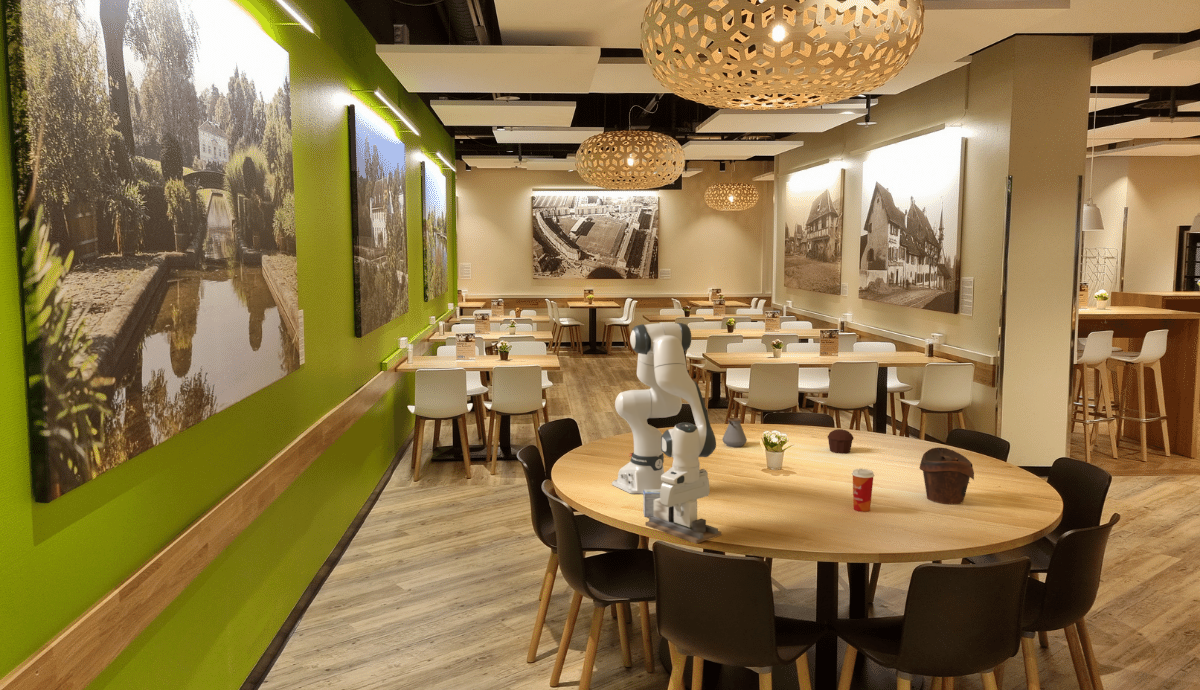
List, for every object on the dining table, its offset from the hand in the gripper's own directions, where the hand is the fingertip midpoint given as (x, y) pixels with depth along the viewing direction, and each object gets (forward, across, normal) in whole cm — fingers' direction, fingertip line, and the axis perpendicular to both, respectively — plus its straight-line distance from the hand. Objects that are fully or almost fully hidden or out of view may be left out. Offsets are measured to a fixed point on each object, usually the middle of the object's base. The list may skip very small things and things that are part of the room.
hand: (685, 514), depth 266 cm
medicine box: (+6, -4, -18) cm, 19 cm away
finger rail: (+6, 0, -1) cm, 6 cm away
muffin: (+6, -133, -27) cm, 136 cm away
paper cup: (+6, -64, +26) cm, 69 cm away
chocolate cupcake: (+6, -98, +40) cm, 106 cm away
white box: (+3, 0, 0) cm, 3 cm away
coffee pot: (+6, -101, -64) cm, 120 cm away
